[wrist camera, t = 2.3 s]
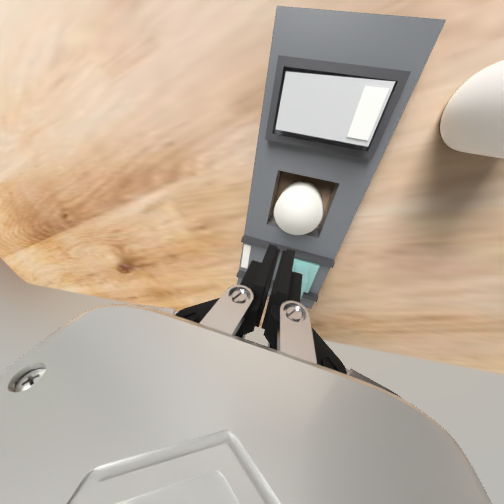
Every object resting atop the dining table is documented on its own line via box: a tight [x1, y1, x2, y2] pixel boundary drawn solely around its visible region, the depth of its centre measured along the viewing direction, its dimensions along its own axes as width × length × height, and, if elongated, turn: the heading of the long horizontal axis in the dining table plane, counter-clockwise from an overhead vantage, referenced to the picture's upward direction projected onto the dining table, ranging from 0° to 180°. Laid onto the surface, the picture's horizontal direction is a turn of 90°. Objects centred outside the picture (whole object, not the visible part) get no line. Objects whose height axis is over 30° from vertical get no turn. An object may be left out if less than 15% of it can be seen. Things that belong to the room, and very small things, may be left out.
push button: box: [274, 181, 323, 235], centre depth 22 cm, size 5×5×4 cm
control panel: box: [237, 6, 446, 309], centre depth 24 cm, size 12×30×4 cm, turn 171°
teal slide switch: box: [292, 257, 319, 300], centre depth 26 cm, size 4×5×4 cm
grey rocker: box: [276, 71, 395, 147], centre depth 16 cm, size 8×4×1 cm, turn 82°
